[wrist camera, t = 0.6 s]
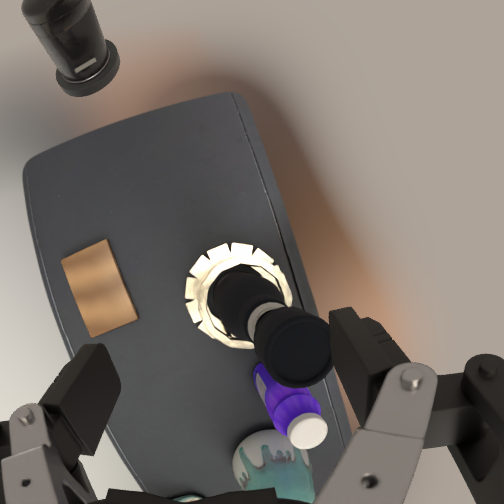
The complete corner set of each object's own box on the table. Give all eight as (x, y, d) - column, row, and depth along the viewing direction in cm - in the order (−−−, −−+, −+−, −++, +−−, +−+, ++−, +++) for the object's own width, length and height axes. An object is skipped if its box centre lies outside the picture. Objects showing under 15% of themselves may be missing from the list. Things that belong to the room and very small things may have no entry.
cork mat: (63, 260, 40) (60, 260, 39) (108, 239, 42) (106, 238, 41) (93, 336, 41) (91, 338, 40) (139, 317, 42) (138, 319, 41)
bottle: (296, 389, 45) (341, 445, 28) (262, 403, 44) (293, 467, 27) (282, 349, 45) (326, 394, 28) (246, 363, 44) (272, 418, 27)
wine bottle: (252, 319, 45) (342, 414, 15) (208, 311, 44) (225, 404, 14) (262, 275, 45) (373, 300, 15) (217, 266, 44) (253, 276, 14)
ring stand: (170, 266, 43) (160, 267, 32) (262, 228, 45) (280, 218, 35) (209, 356, 43) (212, 383, 33) (298, 317, 46) (324, 332, 35)
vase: (308, 425, 45) (354, 487, 28) (285, 476, 45) (317, 543, 27) (241, 414, 44) (263, 485, 26) (221, 468, 43) (233, 543, 25)
